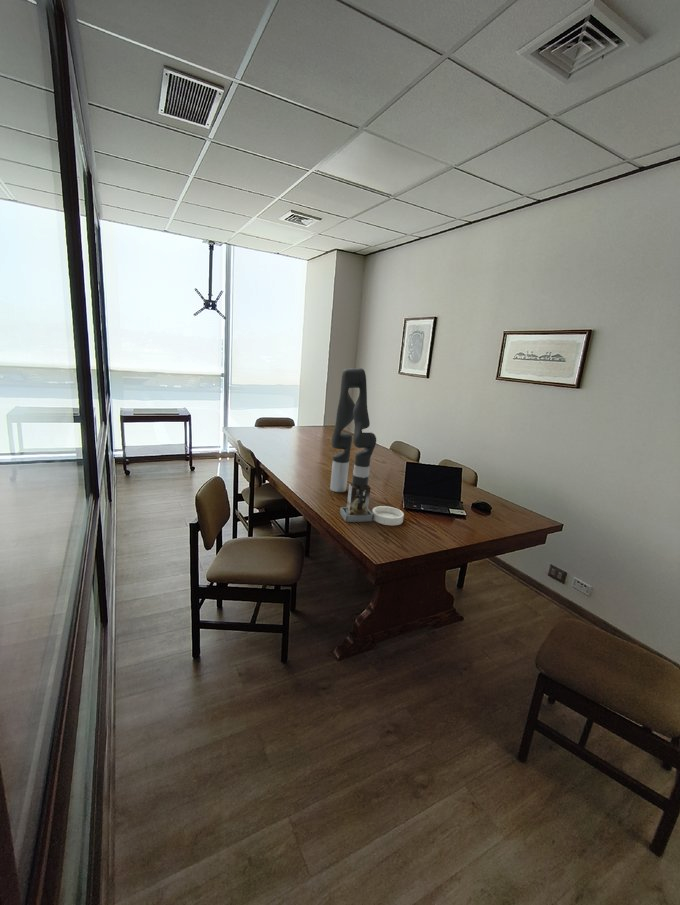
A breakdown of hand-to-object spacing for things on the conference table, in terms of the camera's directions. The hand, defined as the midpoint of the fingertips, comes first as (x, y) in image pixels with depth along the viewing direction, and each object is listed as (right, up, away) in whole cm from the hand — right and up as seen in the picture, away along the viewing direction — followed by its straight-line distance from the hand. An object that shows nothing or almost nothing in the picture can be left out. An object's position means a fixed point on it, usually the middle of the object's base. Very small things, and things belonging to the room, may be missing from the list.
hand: (357, 507), depth 192 cm
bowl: (+15, -6, +3) cm, 16 cm away
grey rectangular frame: (0, -5, +1) cm, 5 cm away
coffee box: (0, -5, +1) cm, 5 cm away
